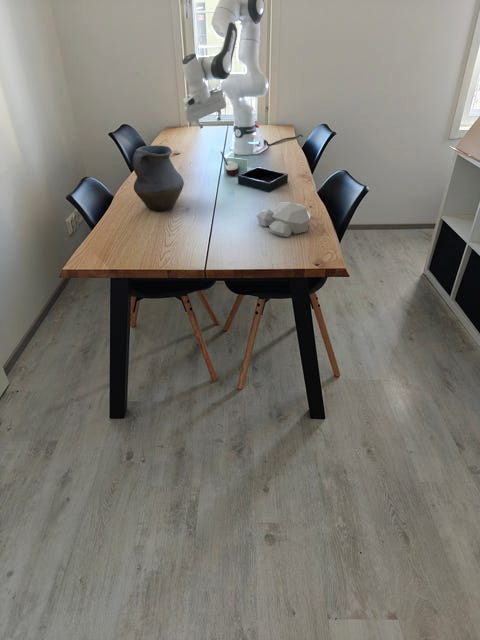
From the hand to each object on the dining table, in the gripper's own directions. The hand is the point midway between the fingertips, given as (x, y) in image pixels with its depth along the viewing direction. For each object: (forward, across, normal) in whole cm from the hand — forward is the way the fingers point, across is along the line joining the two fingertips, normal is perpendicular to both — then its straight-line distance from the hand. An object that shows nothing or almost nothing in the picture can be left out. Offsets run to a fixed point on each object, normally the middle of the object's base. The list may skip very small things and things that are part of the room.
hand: (210, 124), depth 212 cm
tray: (+24, -9, +30) cm, 40 cm away
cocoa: (+22, +1, +15) cm, 26 cm away
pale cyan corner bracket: (+23, -5, +10) cm, 26 cm away
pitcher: (+9, +39, +42) cm, 59 cm away
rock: (+21, 0, +78) cm, 80 cm away
